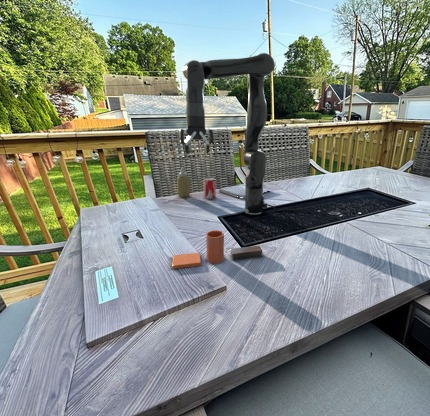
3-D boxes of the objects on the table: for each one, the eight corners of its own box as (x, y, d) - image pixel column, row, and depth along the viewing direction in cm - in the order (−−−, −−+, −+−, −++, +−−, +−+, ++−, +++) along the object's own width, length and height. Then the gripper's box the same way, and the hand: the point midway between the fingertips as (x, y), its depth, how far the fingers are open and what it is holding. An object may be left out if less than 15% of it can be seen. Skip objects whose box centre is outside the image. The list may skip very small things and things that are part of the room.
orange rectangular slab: (199, 255, 96) (199, 252, 95) (200, 265, 89) (200, 262, 89) (173, 258, 93) (173, 255, 92) (172, 268, 87) (172, 265, 86)
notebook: (250, 185, 194) (219, 191, 174) (250, 182, 193) (219, 188, 173) (271, 191, 181) (241, 199, 161) (271, 188, 180) (241, 195, 160)
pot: (222, 254, 97) (222, 229, 94) (225, 262, 92) (224, 236, 89) (206, 256, 95) (205, 231, 92) (207, 264, 90) (206, 238, 87)
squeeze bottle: (193, 195, 164) (192, 166, 158) (185, 198, 157) (183, 169, 151) (182, 193, 166) (180, 165, 160) (174, 196, 159) (172, 167, 153)
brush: (259, 251, 100) (259, 245, 99) (262, 257, 97) (262, 250, 96) (230, 255, 97) (230, 248, 96) (232, 260, 93) (232, 253, 92)
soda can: (212, 200, 157) (212, 180, 153) (202, 198, 158) (201, 179, 154) (217, 196, 163) (217, 178, 159) (207, 195, 165) (206, 177, 161)
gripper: (180, 114, 103) (183, 155, 109) (214, 115, 111) (215, 154, 116) (175, 113, 109) (178, 152, 115) (208, 115, 117) (210, 152, 122)
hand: (197, 153), depth 115 cm, fingers open, 8 cm apart
